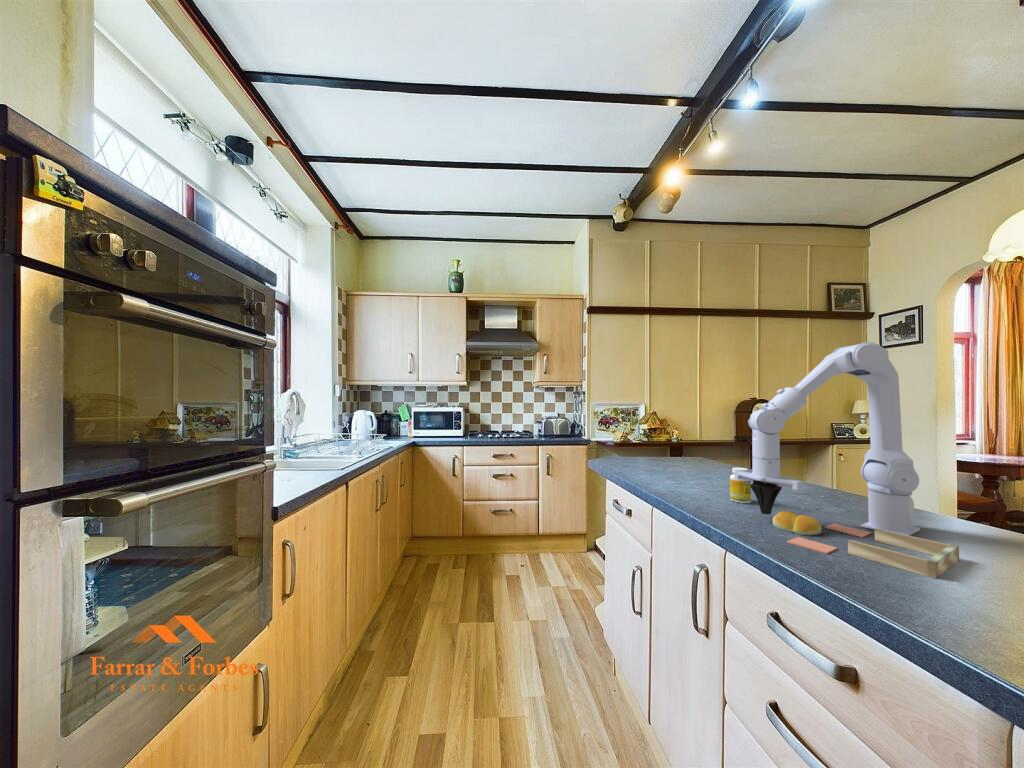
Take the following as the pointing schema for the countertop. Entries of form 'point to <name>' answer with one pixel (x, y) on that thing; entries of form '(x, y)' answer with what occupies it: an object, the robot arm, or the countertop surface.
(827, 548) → the mats
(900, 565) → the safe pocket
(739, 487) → the supplement bottle
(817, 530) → the bread roll
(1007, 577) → the countertop surface
